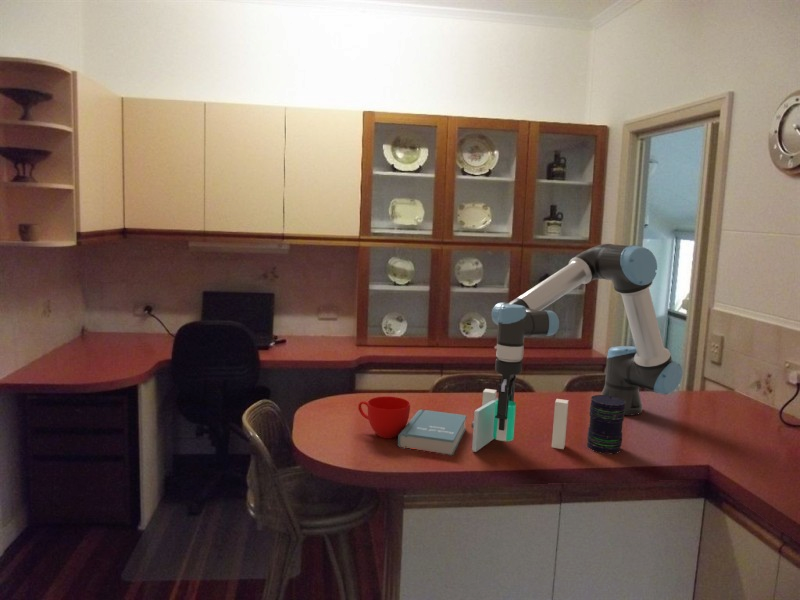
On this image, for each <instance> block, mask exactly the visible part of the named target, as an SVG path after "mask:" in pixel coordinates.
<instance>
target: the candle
mask: <svg viewBox="0 0 800 600" xmlns="http://www.w3.org/2000/svg"><path fill="white" fill-rule="evenodd" d="M497 406H498V400H496V401H495V414H494V429H493V438H494V440H496V437H497V423H498V418H495V416H496V415H497ZM516 407H517V403H516V402H515V401H514V402H513V401H509V405H508V413H507V419H508V423H507V437H506V441H505V442H510V441H513V440H514V437H515V424H516V421H515V420H516ZM499 441H501V440H499ZM501 442H502V441H501Z"/></svg>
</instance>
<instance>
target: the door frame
mask: <svg viewBox="0 0 800 600" xmlns="http://www.w3.org/2000/svg"><path fill="white" fill-rule="evenodd" d="M497 391H498V390H497V389H491V388H485V389H483V391H482V400H481V401H482V405H481V407H482V406H483V405H485V404H487V403H489V402H490V401H492V400H494V399H495V398H497V393H498V392H497ZM569 401H570V400H569V399H568V400H567V399H562V398H561V399H560V398H556V399H555V402H554V414H553V422H552V423H553V426H552V437H551V448H553V449H559V450H564V448H565V447H566V445H565V444H566V438H567V437H566V435H567V434H566V433H567V432H566V431H567V426H568V425H567V423H568V413H569V411H568V410H569Z"/></svg>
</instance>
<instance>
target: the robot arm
mask: <svg viewBox="0 0 800 600" xmlns="http://www.w3.org/2000/svg"><path fill="white" fill-rule="evenodd" d="M657 270H658V263H657V259H656V256H655V255H654V253H653V252H652V251H651V250H650V249H649V248H646V247H643V246H639V245H626V244H625V245H624V244H623V245H622V244H613V243H603V244H598V245H595V246H593V247H590V248H587V249H586V250H584V251H581V252H580V253H578V254H576V255H575V256H574V257H572V258H571V259H570V260H569V261H568V264H567V265H565V266H564V267H562V268H561V269H559V270H557V271H556V272H555V273H553V274H552V275H550V276H548V277H547V278H545V279H544V280H542V281H540V282H539V283H538V284H536V285H535V286H532V288H530V289H529V290H526V292H524V293H522V294H521V295H518V297H516V298H514V299H513V300H511V301H509V302H505V301H504V302H498V303H496V304H495V305H494V307H492V309H491V320H492V322H493V323H494V324H495V325H496V326H497V333H496V334H497V337H496V345H494V349H495V350H496V352H495V353H496V355H495V356H496V357H497V358H496V359H495V361H494V362H495V366H494V370H495V372H497V373H498V374H501V378H499V383H498V395H497V396H498V397H497V398H498V406H497V415H496V416H495V418H498V423H497V437H496V439H495V440H497V441H500V440H501V442H507V441H506V437H507V423H508V419H507V413H508V405H509V401H513V402H515V387H516V386H515V385H516V378H517V376H518V375H520V374H521V373H522V372H523V371H522V370H523V358H524V343H525V338H537V337H544V338H546V337H550V336H554V335H555V334H556V333H557V332H558V331H559V328H560V320H559V317H558V314H556V312H554V311H553V310H548V309H547V310H546V309H545V308H547V307H549V306H550V305H551V304H553V303H554V302H557V301H558V300H559V299H560V298H562V297H563V296H565V295H567V294H568V293H570V292H572V291H573V290H575V289H576V288H577V287H579V286H581V285H582V284H583V285H586V284H587V285H588V284H589V283H591V282H592V281H595V280H607V281H612V284H613V289H614V292H616V293H617V294H620V295H621V299H622V303H623V305H624V306H623V307H624V310H625V314H626V317H627V321H628V325H629V329H630V331H631V336H632V340H633V343H634V346H631V345H630V346H629V345H621V346H620V345H619V346H612V347H610V348H608V351H607V357H606V367H605V381H604V386H603V389H602V390H601V393H600V395H608V396H614V397H618V398H621V399H623V400H624V401H625V415H624V416H632V415H631V414H638V413H641V412H642V413H643V403H642V399H641V395H640V388H641V389H644V390H646V391H650V392H653V393H655V394H661V395H664V396H666V395H670V394H672V393H673V392H675V391H676V389H677V388H678V387H679V385H680V384H681V382H682V381H681V380H682V377H683V371H684V370H683V367H682V365H681V363H679V362H678V361H673V359H672V354H671V352H670V350H669V349H668V348H666V347H665V346H664V344H663V339H662V335H661V331H660V327H659V323H658V319H657V318H658V317H657V315H656V311H655V307H654V302H653V299H652V295H651V291H650V287H651V286H652V285H653V281H654V279H656V278H655V277H656V276H657V272H656V271H657ZM516 375H517V376H516ZM642 413H641V414H642ZM638 415H639V414H638Z"/></svg>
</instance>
